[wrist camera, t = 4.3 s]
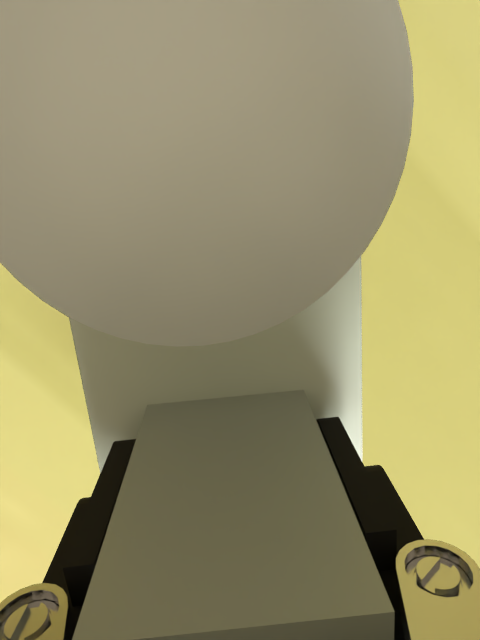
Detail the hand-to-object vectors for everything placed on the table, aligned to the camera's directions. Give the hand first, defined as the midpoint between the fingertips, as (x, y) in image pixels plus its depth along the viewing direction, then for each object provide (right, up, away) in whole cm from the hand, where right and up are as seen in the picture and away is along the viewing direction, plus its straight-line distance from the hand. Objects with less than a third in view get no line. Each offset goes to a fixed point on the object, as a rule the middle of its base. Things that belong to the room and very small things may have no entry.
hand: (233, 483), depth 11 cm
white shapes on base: (0, +1, +2) cm, 2 cm away
